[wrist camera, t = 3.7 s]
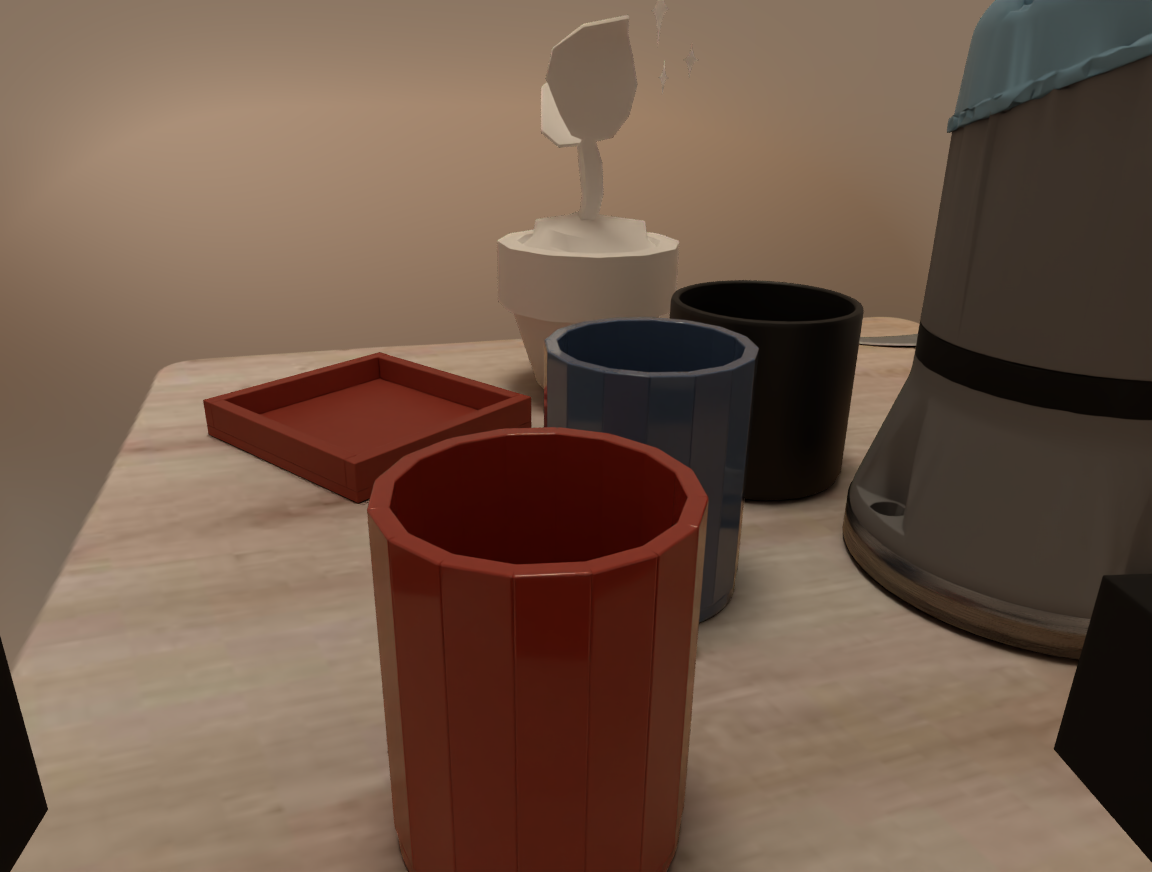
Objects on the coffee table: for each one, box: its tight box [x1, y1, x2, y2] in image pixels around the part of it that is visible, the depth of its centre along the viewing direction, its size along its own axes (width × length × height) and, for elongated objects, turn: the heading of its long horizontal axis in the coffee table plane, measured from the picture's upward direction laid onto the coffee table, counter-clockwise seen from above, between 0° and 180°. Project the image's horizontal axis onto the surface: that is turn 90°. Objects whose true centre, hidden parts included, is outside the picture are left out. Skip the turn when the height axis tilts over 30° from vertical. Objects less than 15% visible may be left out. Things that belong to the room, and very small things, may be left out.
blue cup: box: [544, 317, 759, 622], centre depth 34 cm, size 8×8×10 cm
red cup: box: [367, 427, 709, 872], centre depth 22 cm, size 8×8×10 cm
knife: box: [859, 334, 918, 346], centre depth 69 cm, size 13×1×3 cm
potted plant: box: [497, 0, 698, 388], centre depth 54 cm, size 13×12×25 cm
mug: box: [670, 280, 863, 500], centre depth 46 cm, size 9×12×9 cm
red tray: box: [203, 352, 531, 503], centre depth 49 cm, size 14×13×2 cm
